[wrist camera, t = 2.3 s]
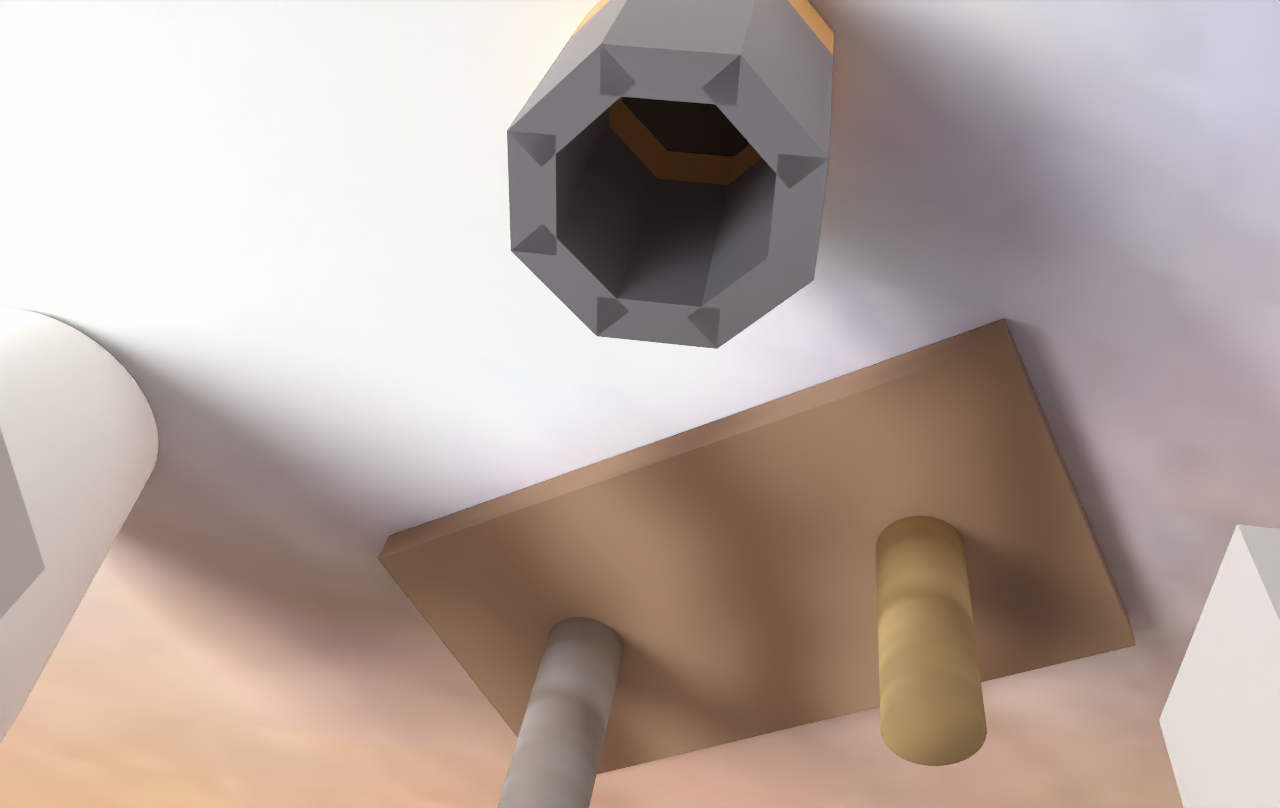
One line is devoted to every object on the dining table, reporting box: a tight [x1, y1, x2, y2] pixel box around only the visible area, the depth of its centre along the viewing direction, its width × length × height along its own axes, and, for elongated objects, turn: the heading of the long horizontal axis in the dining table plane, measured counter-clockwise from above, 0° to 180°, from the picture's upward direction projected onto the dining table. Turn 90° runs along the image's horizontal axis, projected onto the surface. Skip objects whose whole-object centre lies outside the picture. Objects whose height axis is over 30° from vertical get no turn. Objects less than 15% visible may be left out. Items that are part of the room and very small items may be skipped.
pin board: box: [378, 319, 1136, 808], centre depth 30 cm, size 18×10×7 cm, turn 118°
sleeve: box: [507, 0, 834, 348], centre depth 22 cm, size 5×5×7 cm
